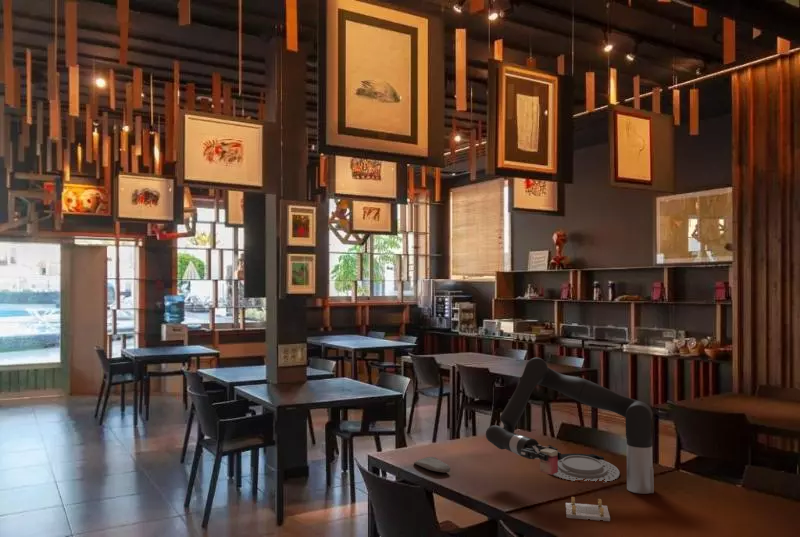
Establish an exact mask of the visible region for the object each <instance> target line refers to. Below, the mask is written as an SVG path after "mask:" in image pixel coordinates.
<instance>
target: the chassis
mask: <svg viewBox="0 0 800 537" xmlns="http://www.w3.org/2000/svg"><path fill="white" fill-rule="evenodd" d="M570 498H571V499H570V500H571V502H565V514H566V518H567V519H577V520H588V519H590V520H589V521H600V520H603V521H602V522H610V521H611V516H610V512H609V509H608V508H609V507H608V505H603V502H602V499H601V498H597V504H589V503H576V500H575V499H576V497H575V496H571V497H570Z"/></svg>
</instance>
